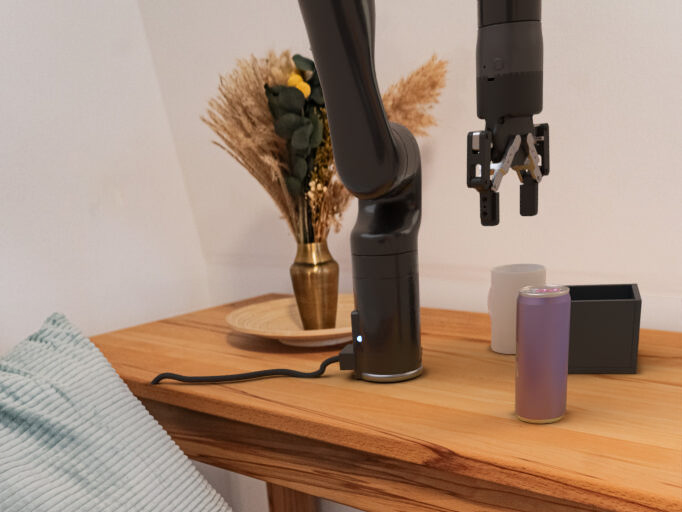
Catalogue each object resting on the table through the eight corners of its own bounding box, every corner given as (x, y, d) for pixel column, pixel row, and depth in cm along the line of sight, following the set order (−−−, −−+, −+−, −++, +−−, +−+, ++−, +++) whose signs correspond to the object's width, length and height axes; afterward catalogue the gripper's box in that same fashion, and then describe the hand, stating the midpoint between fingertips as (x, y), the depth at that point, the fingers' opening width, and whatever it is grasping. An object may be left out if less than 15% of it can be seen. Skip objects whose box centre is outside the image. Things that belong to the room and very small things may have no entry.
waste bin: (547, 373, 116) (550, 302, 112) (550, 351, 126) (553, 285, 122) (636, 373, 113) (641, 300, 109) (632, 351, 123) (637, 283, 119)
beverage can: (566, 424, 97) (572, 293, 91) (513, 424, 98) (515, 295, 92) (565, 408, 102) (570, 283, 96) (515, 408, 104) (517, 285, 97)
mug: (513, 334, 138) (514, 258, 133) (555, 348, 128) (558, 267, 122) (469, 341, 135) (468, 265, 130) (508, 357, 125) (509, 275, 120)
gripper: (515, 73, 102) (515, 213, 109) (445, 76, 93) (449, 229, 100) (570, 66, 97) (567, 213, 104) (502, 68, 88) (503, 229, 95)
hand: (509, 220), depth 102 cm, fingers open, 8 cm apart
